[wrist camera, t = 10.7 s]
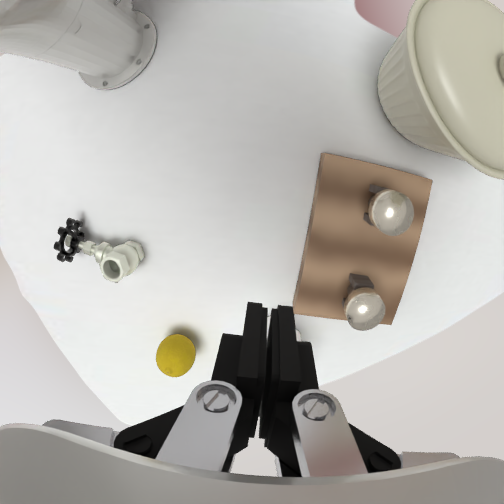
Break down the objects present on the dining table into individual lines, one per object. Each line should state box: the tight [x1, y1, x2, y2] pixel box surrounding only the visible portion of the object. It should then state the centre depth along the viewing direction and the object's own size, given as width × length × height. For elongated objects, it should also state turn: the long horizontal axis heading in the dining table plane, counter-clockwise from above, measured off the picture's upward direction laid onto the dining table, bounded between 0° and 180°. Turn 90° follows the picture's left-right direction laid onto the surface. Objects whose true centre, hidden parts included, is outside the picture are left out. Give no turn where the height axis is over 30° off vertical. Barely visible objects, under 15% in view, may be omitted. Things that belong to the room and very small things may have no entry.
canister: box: [377, 0, 504, 180], centre depth 20 cm, size 18×18×21 cm
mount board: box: [293, 153, 432, 325], centre depth 34 cm, size 20×14×6 cm
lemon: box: [156, 334, 196, 377], centre depth 40 cm, size 6×6×8 cm
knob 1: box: [344, 284, 385, 331], centre depth 33 cm, size 4×4×6 cm
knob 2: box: [368, 189, 414, 236], centre depth 29 cm, size 4×4×6 cm
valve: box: [54, 218, 145, 283], centre depth 37 cm, size 7×7×12 cm
